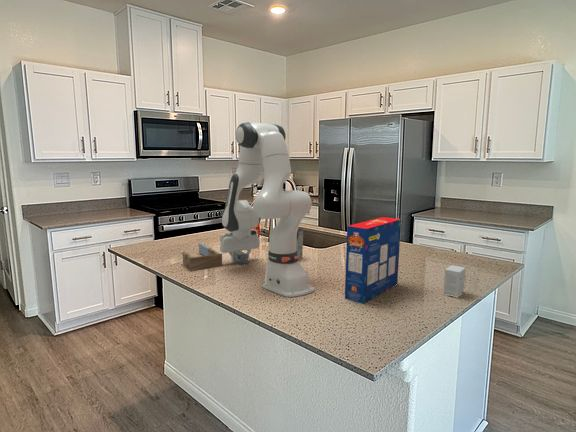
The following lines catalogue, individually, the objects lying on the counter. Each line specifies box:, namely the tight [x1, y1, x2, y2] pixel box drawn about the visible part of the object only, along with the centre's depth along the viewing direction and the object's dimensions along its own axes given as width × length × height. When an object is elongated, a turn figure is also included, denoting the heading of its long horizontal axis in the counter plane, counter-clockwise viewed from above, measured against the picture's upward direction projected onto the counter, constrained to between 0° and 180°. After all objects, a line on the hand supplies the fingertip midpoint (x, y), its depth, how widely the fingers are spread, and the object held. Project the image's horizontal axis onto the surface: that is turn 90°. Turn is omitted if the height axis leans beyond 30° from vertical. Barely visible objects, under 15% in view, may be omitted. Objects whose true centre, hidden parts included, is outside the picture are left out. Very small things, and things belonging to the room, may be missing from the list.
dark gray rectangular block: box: [232, 250, 249, 266], centre depth 191 cm, size 9×4×5 cm, turn 33°
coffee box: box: [296, 227, 304, 261], centre depth 197 cm, size 9×6×16 cm
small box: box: [442, 264, 466, 297], centre depth 149 cm, size 8×6×10 cm
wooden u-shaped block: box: [182, 247, 223, 272], centre depth 185 cm, size 13×16×6 cm
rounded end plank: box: [198, 242, 211, 256], centre depth 201 cm, size 1×15×6 cm, turn 33°
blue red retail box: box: [344, 216, 402, 305], centre depth 150 cm, size 28×8×28 cm, turn 139°
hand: (240, 259), depth 191 cm, fingers open, 6 cm apart
